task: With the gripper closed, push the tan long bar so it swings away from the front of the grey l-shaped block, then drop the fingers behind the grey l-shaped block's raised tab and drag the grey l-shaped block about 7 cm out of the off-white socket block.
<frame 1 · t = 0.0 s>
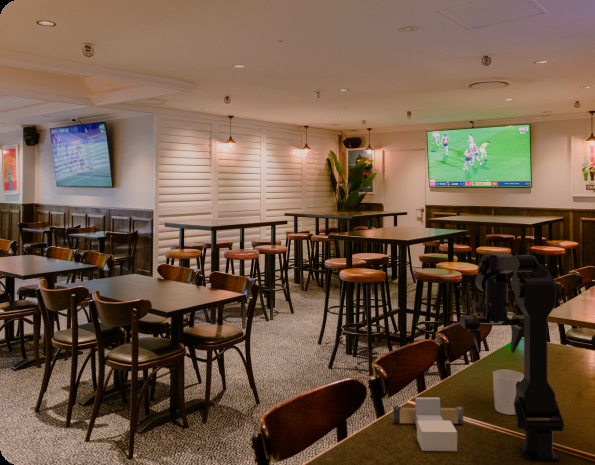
hand: (495, 352, 143), 15 cm above the table, tool pointing down, fingers open, 9 cm apart
grey l-shaped block: (430, 416, 127), point 4 cm above the table, slide at 0.0 cm
tan long bar: (428, 414, 132), point 2 cm above the table, hinge at 0.0°
socket block: (436, 444, 120), on the table
white cup: (508, 410, 139), on the table
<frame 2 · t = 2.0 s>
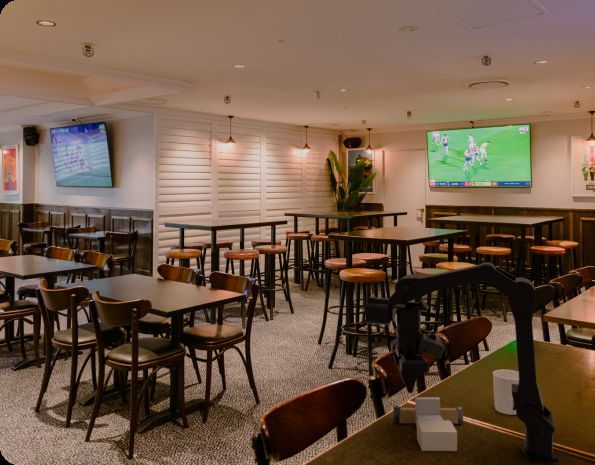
hand: (408, 388, 126), 11 cm above the table, tool pointing down, fingers open, 5 cm apart
nothing on the table moved.
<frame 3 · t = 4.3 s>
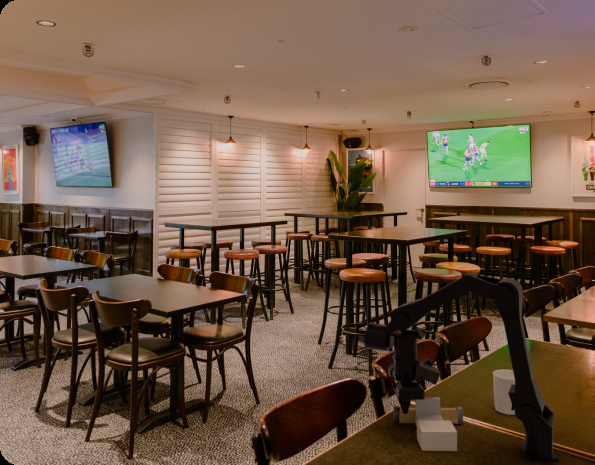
hand: (405, 413, 131), 3 cm above the table, tool pointing down, fingers closed
tan long bar: (428, 414, 132), point 2 cm above the table, hinge at 0.4°, touching gripper
everything else where it was.
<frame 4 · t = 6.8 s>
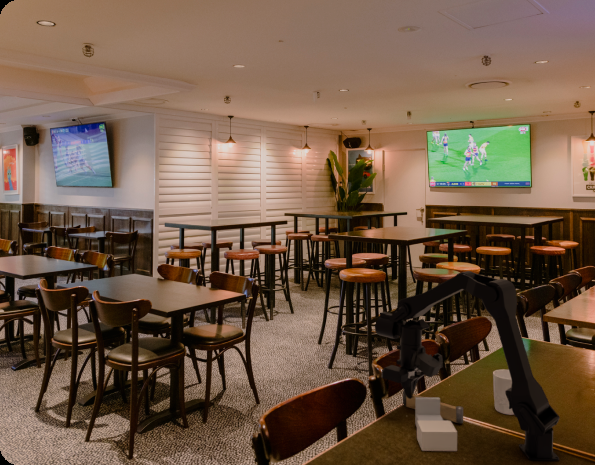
hand: (409, 398, 140), 3 cm above the table, tool pointing down, fingers closed
tan long bar: (431, 406, 137), point 2 cm above the table, hinge at 42.5°, touching gripper
everything else where it was.
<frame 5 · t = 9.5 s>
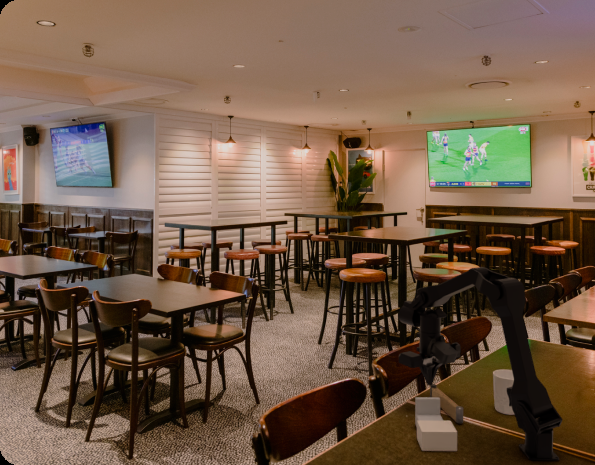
hand: (429, 384, 145), 5 cm above the table, tool pointing down, fingers closed
tan long bar: (445, 402, 139), point 2 cm above the table, hinge at 78.6°
everything else where it was.
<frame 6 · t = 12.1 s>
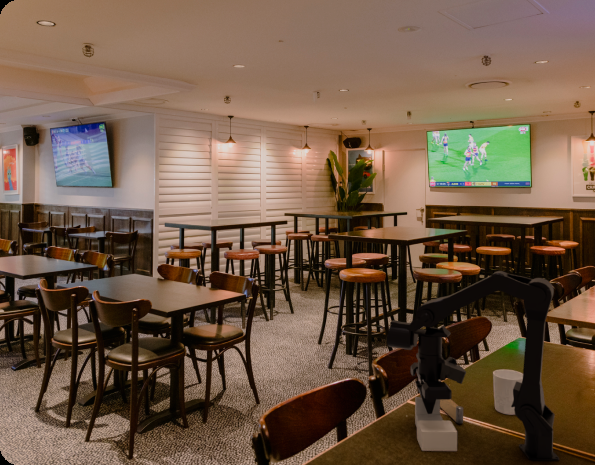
hand: (429, 413, 128), 4 cm above the table, tool pointing down, fingers closed
grey l-shaped block: (430, 416, 127), point 4 cm above the table, slide at 0.2 cm, touching gripper
everything else where it was.
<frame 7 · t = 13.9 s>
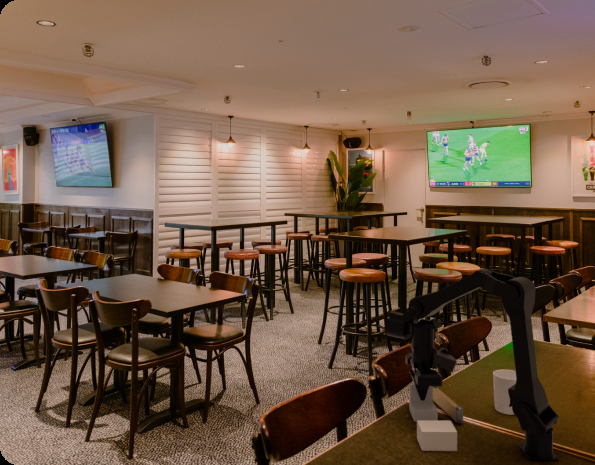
hand: (422, 400, 136), 4 cm above the table, tool pointing down, fingers closed
grey l-shaped block: (423, 402, 135), point 4 cm above the table, slide at 8.4 cm, touching gripper
everything else where it was.
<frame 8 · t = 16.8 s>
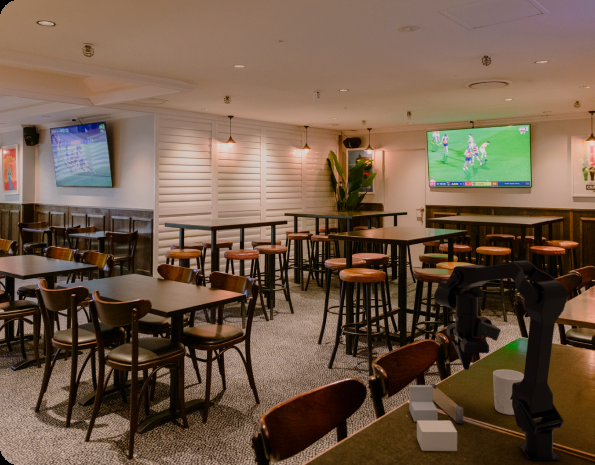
hand: (466, 369, 137), 12 cm above the table, tool pointing down, fingers closed
grey l-shaped block: (423, 402, 135), point 4 cm above the table, slide at 8.5 cm
everything else where it was.
at the end: tan long bar at +79° (first picture: +0°); grey l-shaped block slide at 8.5 cm; the gripper is holding nothing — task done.
